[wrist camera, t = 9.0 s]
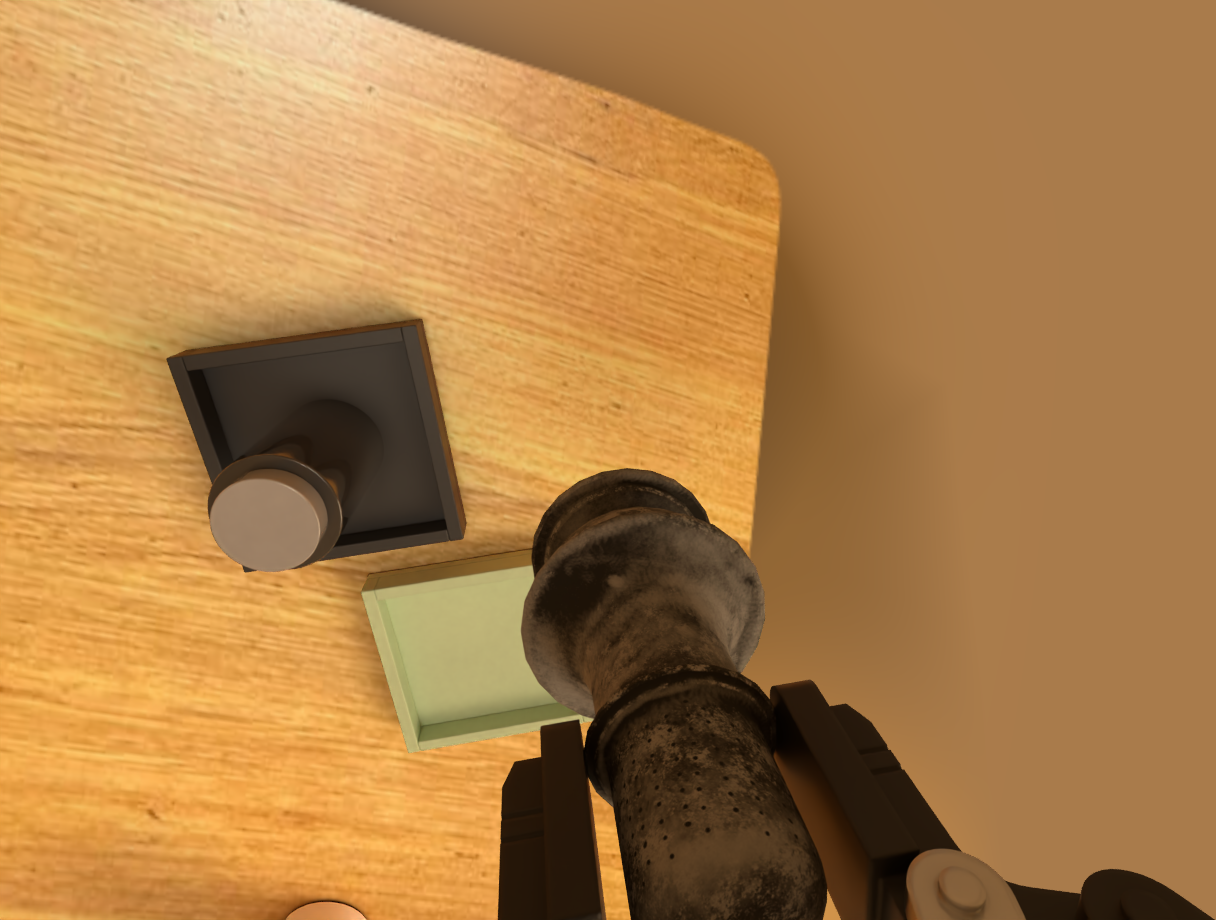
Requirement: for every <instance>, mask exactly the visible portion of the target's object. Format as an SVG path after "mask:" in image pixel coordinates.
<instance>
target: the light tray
mask: <svg viewBox="0 0 1216 920" xmlns="http://www.w3.org/2000/svg"><path fill="white" fill-rule="evenodd" d="M531 556H532V549H529V550H522V551H516V552H510V553H503V554H497V555H490V556H484V557H477V558H471V559H465V560H458V561H452V562H445V563H439V564H433V565H426V566H420V567H413V568H407V569H401V570H394V571H388V572H381V573H375V574H369V575H368V577H367V580H366V582H365V584H364V586H363V589H362V591H361V595H362V598H363V601H364V605H365V608H366V612H367V615H368V618H369V622H370V625H371V628H372V632H373V635H374V639H375V642H376V645H377V649H378V652H379V655H380V659H381V662H382V666H383V669H384V672H385V676H386V679H387V682H388V686H389V689H390V693H391V696H392V699H393V703H394V706H395V709H396V713H397V716H398V719H399V723H400V726H401V730H402V733H403V736H404V740H405V743H406V746H407V750H408V753H412V752H418V751H420V750H421V751H424V750H430V749H435V748H441V747H447V746H453V745H458V744H464V743H470V742H476V741H482V740H487V739H493V738H499V737H505V736H510V735H516V734H522V733H528V732H533V731H539V730H540V727H541V726H543V725H549V724H554V723H560V722H566V721H571V720H577V719H579V720H580V723H583V722H591V721H593V720H594V719H592V718H588V717H585V716H582V715H580V714H578V713H576V712H575V711H573V710H571V709H569V708H567V707H566V706H564V705H562V704H560V703H558V702H557V701H556V700H555V699H554V698H553V697H552V696H551V695H550V694H549V693H548V692H547V691H546V690H545V689H544V688H543V687H542V686H541V685H540V684H539V683H538V681H537V679H536V677H535V676H534V674H533V672H532V670H531V668H530V666H529V664H528V663H527V661H526V658H525V653H524V647H523V642H522V636H521V623H522V616H523V608H524V601H525V599H526V596H527V594H528V592H529V590H530V588H531V585H532V583H533V581H534V573H533V566H532V560H531Z"/></svg>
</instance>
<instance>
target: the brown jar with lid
mask: <svg viewBox="0 0 1216 920" xmlns="http://www.w3.org/2000/svg"><path fill="white" fill-rule="evenodd" d="M383 457H384V444H383V439H382V436H381V434H380V431H379V429H378V428H377V426H376V424H375V423H374V422H373V421H372V419H371V418H370V417H369V416H368V415H367V414H366V413H364V412H363V411H362V410H360V409H359V408H357V407H355V406H353V405H351V404H349V403H346V402H343V401H339V400H333V399H322V400H315V401H311V402H308V403H306V404H304V405H302V406H300V407H299V408H297V409H296V410H294V411H293V412H292V413H291V414H290V415H288V416H287V417H286V418H285V419H284V420H282V421H281V422H280V423H279V424H278V425H276V426H275V427H274V428H273V429H272V430H270V431H269V432H268V433H267V434H266V435H265V436H263V437H262V438H261V439H260V440H259V441H257V442H256V443H255V444H254V445H253V446H251V447H250V448H249V449H248V450H247V451H245V452H244V453H243V454H242V455H241V456H239V457H238V458H237V459H236V460H235V461H233V462H232V463H231V464H230V465H229V466H227V467H226V468H225V469H224V470H223V471H222V472H221V473H220V474H219V475H218V477H217V478H216V479H215V481H214V483H213V485H212V487H211V489H210V492H209V497H208V514H209V519H210V526H211V531H212V534H213V537H214V539H215V541H216V542H217V544H218V546H219V547H220V548H221V549H222V551H223V552H224V553H225V554H226V555H228V556H229V557H230V558H231V559H233V560H234V561H236V562H237V563H239V564H241V565H243V566H245V567H248V568H251V569H254V570H258V571H265V572H278V571H284V570H290V569H297V568H301V567H305V566H308V565H310V564H312V563H314V562H317V561H318V560H320V559H321V558H323V557H324V556H325V555H326V554H327V553H329V552H330V550H331V549H332V548H333V547H334V545H335V544H336V542H337V540H338V539H339V537H340V535H341V534H342V532H343V530H344V529H345V527H346V525H347V524H348V522H349V520H350V518H351V517H352V515H353V513H354V512H355V510H356V508H357V507H358V505H359V503H360V501H361V500H362V498H363V496H364V495H365V493H366V491H367V490H368V488H369V486H370V485H371V483H372V481H373V479H374V478H375V476H376V474H377V473H378V471H379V469H380V467H381V465H382V462H383Z"/></svg>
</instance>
